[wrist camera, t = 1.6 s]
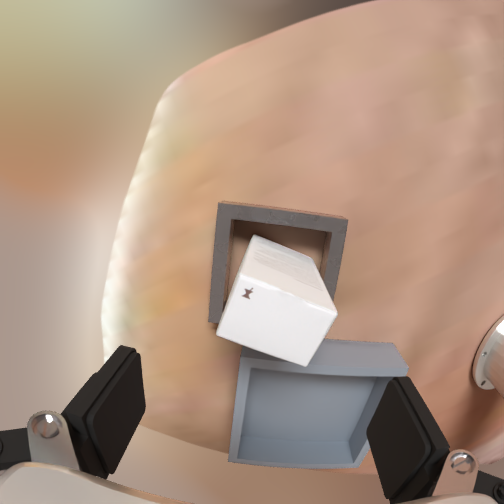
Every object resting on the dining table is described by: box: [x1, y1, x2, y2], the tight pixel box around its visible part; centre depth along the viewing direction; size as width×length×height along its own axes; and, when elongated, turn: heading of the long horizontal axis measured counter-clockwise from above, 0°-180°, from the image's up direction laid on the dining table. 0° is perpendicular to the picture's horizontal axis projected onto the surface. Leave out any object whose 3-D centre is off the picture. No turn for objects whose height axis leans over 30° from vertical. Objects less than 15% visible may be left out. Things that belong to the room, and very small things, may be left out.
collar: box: [208, 201, 348, 324], centre depth 27 cm, size 11×11×2 cm
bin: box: [228, 339, 409, 469], centre depth 29 cm, size 16×16×5 cm
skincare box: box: [216, 234, 338, 367], centre depth 22 cm, size 6×4×12 cm
